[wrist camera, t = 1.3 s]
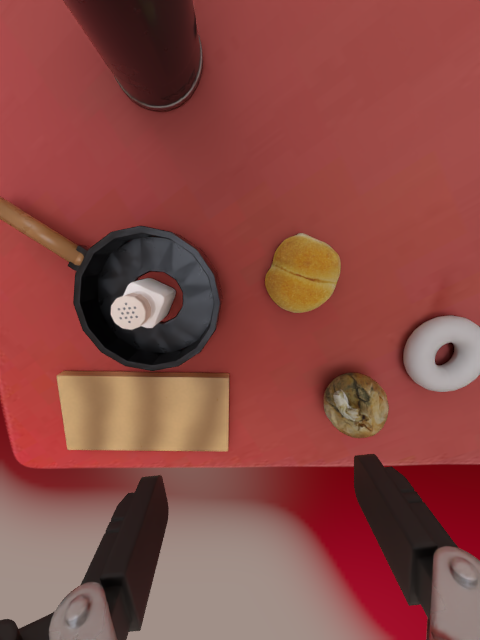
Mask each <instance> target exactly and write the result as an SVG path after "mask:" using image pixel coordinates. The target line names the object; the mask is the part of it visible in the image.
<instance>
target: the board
mask: <svg viewBox="0 0 480 640" xmlns="http://www.w3.org/2000/svg"><path fill="white" fill-rule="evenodd" d="M57 382H58V389H59V396H60V403H61V409H62V416H63V423H64V430H65V436H66V443H67V450H144V451H228V441H229V373H177V372H108V371H63V372H61V373H60V374H58V375H57Z"/></svg>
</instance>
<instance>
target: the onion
mask: <svg viewBox="0 0 480 640" xmlns="http://www.w3.org/2000/svg"><path fill="white" fill-rule="evenodd" d="M388 409H389V406H388V401H387V396H386V393H385V392H384V390H383V389H382V388H381V386H380V385H379V384H378V383H377V382H376V381H374V380H373V379H371V378H370V377H368V376H366V375H363V374H359V373H346V374H342V375H340V376H338V377H336V378H335V379H334V380H333V381H332V382H331V383H330V384H329V386H328V387H327V388H326V390H325V393H324V410H325V413H326V415H327V417H328V418H329V420H330V421H331V422H332V424H333V425H334V426H335V427H336V428H337V429H338V430H339V431H340V432H342V433H344V434H346V435H348V436H350V437H354V438H366V437H370V436H373V435H375V434H376V433H378V432H379V431H380V430H381V429H382V428H383V426H384V424H385V422H386V420H387V416H388Z"/></svg>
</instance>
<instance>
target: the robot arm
mask: <svg viewBox="0 0 480 640" xmlns="http://www.w3.org/2000/svg"><path fill="white" fill-rule="evenodd" d="M63 1H64V2H65V4H66V5H67V7H68V8H69V10H70V11H71V13H72V14H73V16H74V17H75V19H76V20H77V22H78V23H79V24H80V26H81V27H82V29H83V30H84V32H85V33H86V35H87V36H88V38H89V39H90V41H91V42H92V44H93V45H94V46H95V48H96V49H97V51H98V52H99V54H100V55H101V57H102V58H103V60H104V61H105V63H106V64H107V66H108V67H109V69H110V70H111V72H112V73H113V74H114V77H115V78H116V80H117V82H118V84H119V85H120V87H121V88H122V90H123V91H124V92H125V93H126V95H127V96H128V97H129V98H130V99H132V100H133V101H134V102H135V103H137V104H138V105H140V106H142V107H144V108H147V109H150V110H154V111H166V110H171V109H174V108H176V107H178V106H180V105H181V104H183V103H184V102H185V101H187V100H188V99H189V98H190V96H191V95H192V94H193V92H194V91H195V89H196V87H197V85H198V83H199V80H200V77H201V73H202V66H203V55H202V47H201V42H200V38H199V37H200V36H199V34H198V31H199V30H198V31H197V25H198V24H197V25H196V18H195V12H196V11H195V12H194V6H195V5H194V6H193V1H192V0H63ZM354 488H355V493H356V497H357V500H358V502H359V505H360V507H361V509H362V511H363V513H364V515H365V517H366V519H367V521H368V523H369V525H370V527H371V529H372V531H373V533H374V535H375V537H376V539H377V541H378V543H379V545H380V547H381V549H382V551H383V553H384V556H385V557H386V560H387V561H388V564H389V566H390V568H391V570H392V572H393V574H394V576H395V578H396V580H397V582H398V584H399V586H400V588H401V590H402V592H403V594H404V596H405V598H406V600H407V602H408V604H409V605H419V604H421V606H422V607H423V609H424V611H425V613H426V615H427V617H428V621H427V639H426V640H480V561H479V560H478V559H477V558H475V557H474V556H472V555H471V554H469V553H468V552H466V551H463V550H461V549H459V548H458V547H457V545H456V544H455V543H454V542H453V540H452V539H451V538H450V536H449V535H448V534H447V532H446V531H445V530H444V528H443V527H442V526H441V524H440V523H439V522H438V521H437V519H436V518H435V516H434V515H433V514H432V512H431V511H430V510H429V508H428V507H427V506H426V504H425V503H424V502H422V499H421V498H420V496H419V495H418V494H417V492H415V491H414V488H413V487H412V486H411V485H410V483H409V482H408V480H407V479H406V478H405V477H404V476H403V475H402V474H400V473H399V472H398V471H397V470H395V469H394V468H393V467H384V466H383V465H382V463H381V462H380V460H379V459H378V458H377V456H376V455H375V454H367V455H357V456H355V457H354ZM167 521H168V502H167V497H166V493H165V488H164V483H163V479H162V476H160V475H159V476H149V477H142V478H141V480H140V482H139V484H138V487H137V489H136V491H135V493H128V494H127V495H126V496H125V497H124V499H123V500H122V501H121V502H120V503H119V504H118V506H117V508H116V510H115V512H114V514H113V516H112V519H111V522H110V523H109V525H108V527H107V530H106V533H105V534H104V536H103V538H102V540H101V542H100V545H99V547H98V549H97V551H96V554H95V555H94V558H93V560H92V562H91V564H90V566H89V568H88V571H87V573H86V575H85V577H84V579H83V581H82V583H81V585H80V586H79V587H77V588H75V589H74V590H73V591H71V592H70V593H69V594H68V595H67V596H66V597H65V598H64V599H63V600H62V602H61V603H60V605H59V606H58V607H57V609H56V611H55V612H53V613H51V614H49V615H48V616H45V617H43V618H41V619H39V620H37V621H35V622H33V623H30V624H28V625H26V626H24V627H22V628H20V629H18V627H17V625H16V623H15V622H14V621H12V620H9V619H4V620H0V640H126V639H127V635H128V632H130V631H140V630H141V626H142V622H143V618H144V613H145V609H146V605H147V601H148V597H149V593H150V589H151V585H152V581H153V577H154V573H155V569H156V565H157V561H158V557H159V553H160V549H161V545H162V541H163V537H164V533H165V529H166V525H167Z"/></svg>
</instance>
